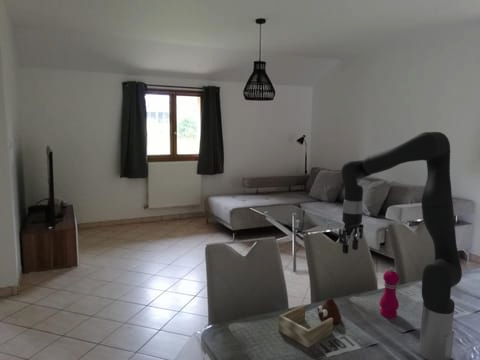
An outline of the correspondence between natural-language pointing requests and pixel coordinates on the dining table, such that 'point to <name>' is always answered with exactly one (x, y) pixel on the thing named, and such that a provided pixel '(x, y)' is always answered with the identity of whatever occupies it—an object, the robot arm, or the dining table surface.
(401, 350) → the dining table surface
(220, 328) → the dining table surface
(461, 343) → the dining table surface
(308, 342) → the birch holder
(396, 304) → the pepper mill
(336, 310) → the poop emoji
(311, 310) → the dining table surface
